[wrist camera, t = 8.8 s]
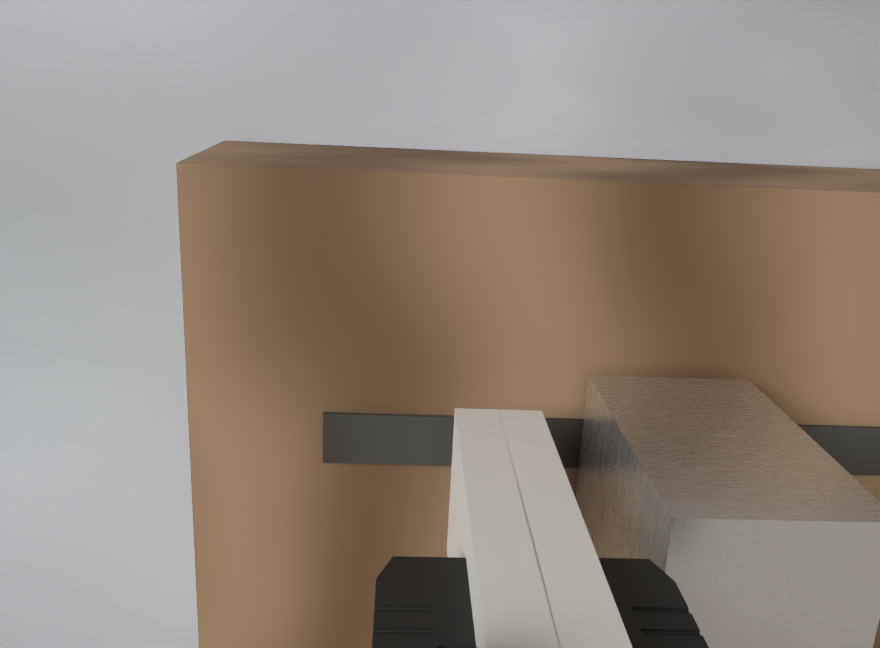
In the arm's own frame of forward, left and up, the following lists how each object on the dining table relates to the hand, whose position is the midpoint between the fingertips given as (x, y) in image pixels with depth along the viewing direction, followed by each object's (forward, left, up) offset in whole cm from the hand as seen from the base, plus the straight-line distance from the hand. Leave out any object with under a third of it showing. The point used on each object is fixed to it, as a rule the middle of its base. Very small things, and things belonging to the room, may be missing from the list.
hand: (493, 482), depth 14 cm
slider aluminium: (+3, 0, -1) cm, 4 cm away
